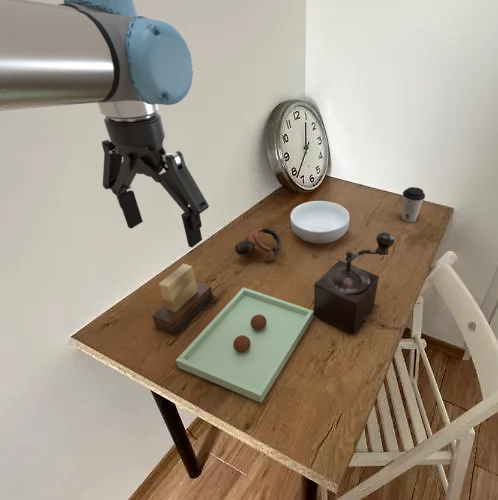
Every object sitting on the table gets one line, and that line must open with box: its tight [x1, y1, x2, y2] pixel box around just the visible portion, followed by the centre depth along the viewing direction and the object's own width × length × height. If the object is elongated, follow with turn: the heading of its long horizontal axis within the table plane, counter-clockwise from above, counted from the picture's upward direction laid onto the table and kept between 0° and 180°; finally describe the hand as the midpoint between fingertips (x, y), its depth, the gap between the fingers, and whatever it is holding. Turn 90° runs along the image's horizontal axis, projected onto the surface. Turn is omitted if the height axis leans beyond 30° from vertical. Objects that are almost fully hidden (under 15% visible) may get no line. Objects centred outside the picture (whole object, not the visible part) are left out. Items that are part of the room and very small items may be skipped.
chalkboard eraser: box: [151, 263, 214, 336], centre depth 74 cm, size 12×5×10 cm, turn 159°
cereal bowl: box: [289, 200, 350, 245], centre depth 102 cm, size 17×17×7 cm
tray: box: [175, 286, 314, 404], centre depth 71 cm, size 22×18×2 cm
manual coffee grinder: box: [313, 231, 395, 336], centre depth 76 cm, size 16×11×18 cm
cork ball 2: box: [251, 315, 267, 330], centre depth 72 cm, size 3×3×3 cm
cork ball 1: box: [233, 335, 250, 353], centre depth 68 cm, size 3×3×3 cm
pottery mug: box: [234, 227, 282, 263], centre depth 92 cm, size 12×10×8 cm
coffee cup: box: [401, 186, 426, 223], centre depth 112 cm, size 7×7×10 cm
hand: (164, 233), depth 65 cm, fingers open, 13 cm apart
